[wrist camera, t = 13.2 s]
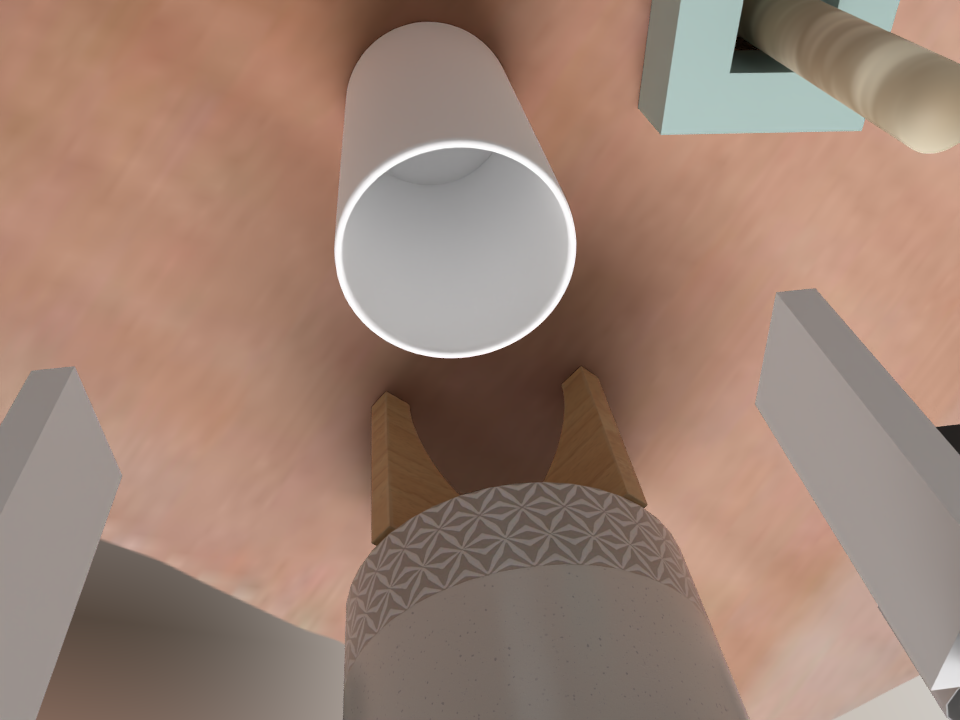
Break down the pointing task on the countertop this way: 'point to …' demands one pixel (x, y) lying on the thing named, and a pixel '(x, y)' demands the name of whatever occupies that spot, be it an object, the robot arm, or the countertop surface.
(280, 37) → the countertop surface
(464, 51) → the cup
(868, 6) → the bead
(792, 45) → the beige wooden dowel
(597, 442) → the planter
